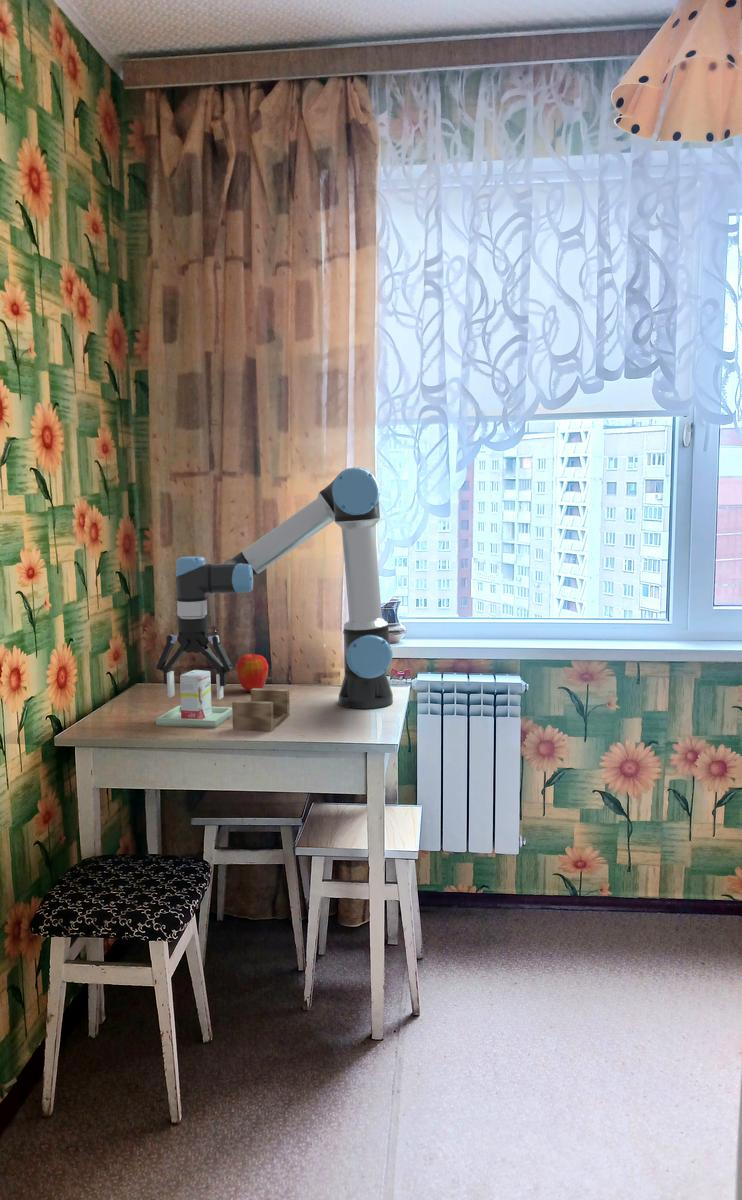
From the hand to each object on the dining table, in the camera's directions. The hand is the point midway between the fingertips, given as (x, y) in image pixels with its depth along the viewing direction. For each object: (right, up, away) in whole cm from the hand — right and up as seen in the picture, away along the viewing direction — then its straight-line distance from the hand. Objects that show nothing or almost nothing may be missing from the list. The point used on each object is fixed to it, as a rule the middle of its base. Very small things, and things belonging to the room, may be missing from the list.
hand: (195, 697), depth 238 cm
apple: (+11, -2, +33) cm, 35 cm away
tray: (0, -6, +1) cm, 6 cm away
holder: (+18, -6, -3) cm, 19 cm away
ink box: (0, -6, +1) cm, 6 cm away
